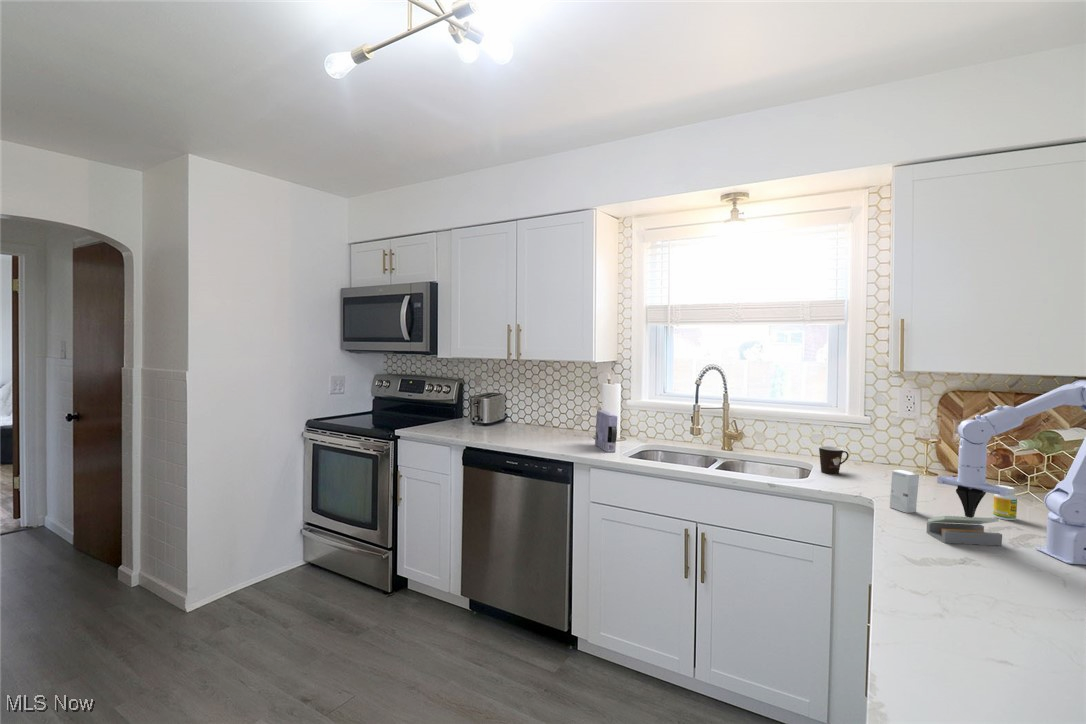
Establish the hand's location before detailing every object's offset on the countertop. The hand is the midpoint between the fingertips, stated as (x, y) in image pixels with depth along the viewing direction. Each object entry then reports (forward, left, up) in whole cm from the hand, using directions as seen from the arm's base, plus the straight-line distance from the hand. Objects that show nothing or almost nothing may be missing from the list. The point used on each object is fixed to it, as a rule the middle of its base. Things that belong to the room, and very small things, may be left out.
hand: (969, 516), depth 139 cm
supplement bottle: (+23, -26, -7) cm, 35 cm away
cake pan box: (+107, +92, -7) cm, 141 cm away
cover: (+2, 0, -2) cm, 3 cm away
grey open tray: (+2, 0, -7) cm, 7 cm away
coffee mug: (+75, 0, -7) cm, 75 cm away
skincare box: (+27, +1, -7) cm, 28 cm away
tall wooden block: (+2, 0, -7) cm, 7 cm away
